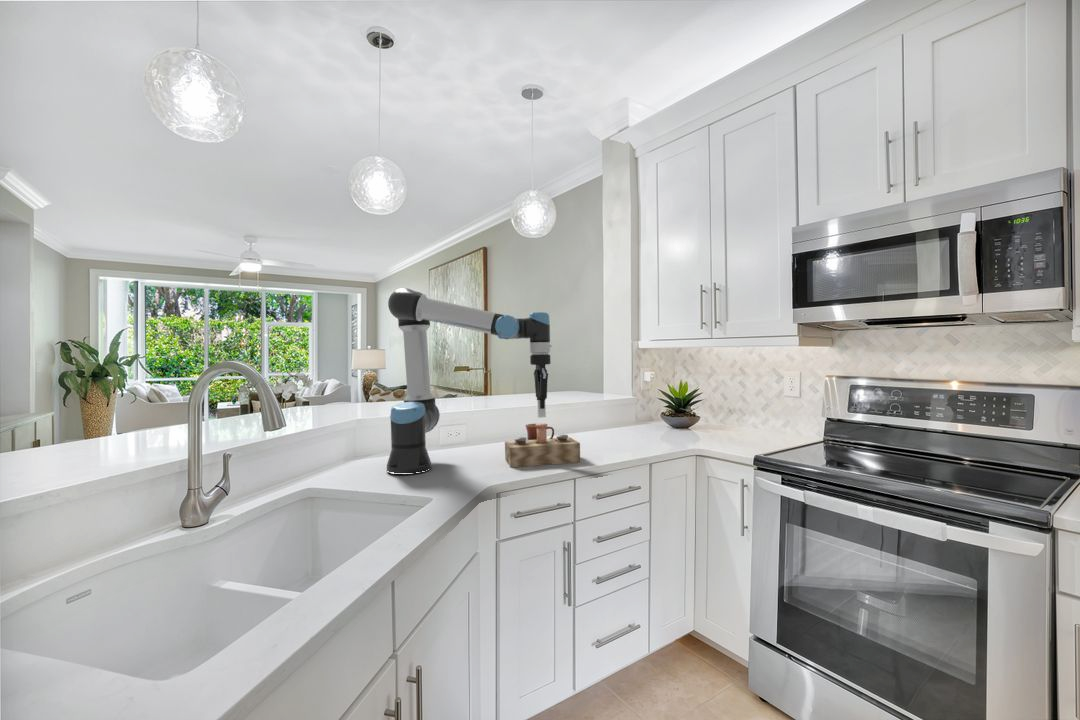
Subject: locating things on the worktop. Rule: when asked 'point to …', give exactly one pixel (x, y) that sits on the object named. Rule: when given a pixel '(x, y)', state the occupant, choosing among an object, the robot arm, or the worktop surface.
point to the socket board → (542, 452)
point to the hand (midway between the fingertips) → (541, 417)
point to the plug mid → (541, 433)
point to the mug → (535, 431)
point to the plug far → (562, 438)
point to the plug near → (520, 440)
